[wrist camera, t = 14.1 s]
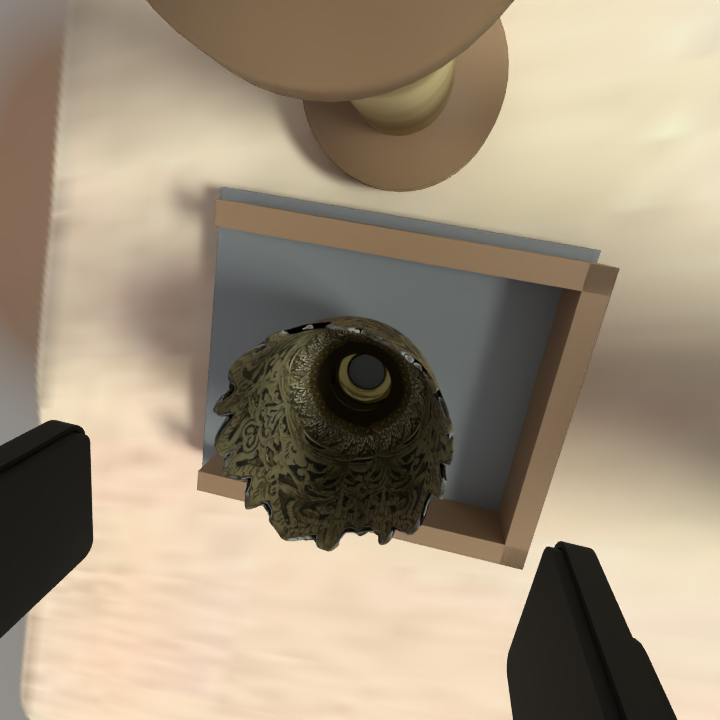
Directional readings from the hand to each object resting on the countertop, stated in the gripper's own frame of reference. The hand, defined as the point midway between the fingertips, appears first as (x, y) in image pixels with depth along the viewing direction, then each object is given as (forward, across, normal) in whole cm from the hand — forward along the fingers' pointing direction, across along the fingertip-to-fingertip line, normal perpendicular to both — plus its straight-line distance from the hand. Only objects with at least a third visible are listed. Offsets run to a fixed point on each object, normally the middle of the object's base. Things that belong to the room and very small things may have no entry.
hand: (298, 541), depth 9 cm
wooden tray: (+14, 0, +1) cm, 14 cm away
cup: (+13, 0, +1) cm, 13 cm away
